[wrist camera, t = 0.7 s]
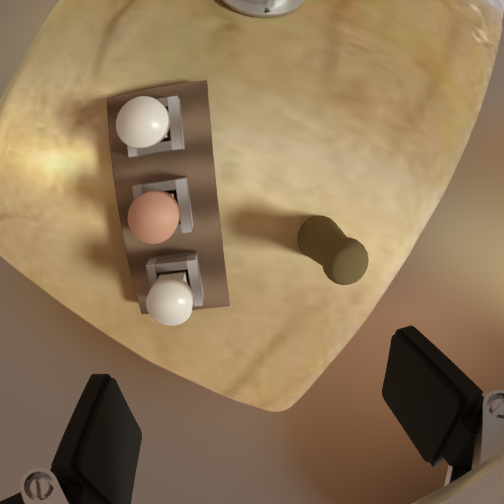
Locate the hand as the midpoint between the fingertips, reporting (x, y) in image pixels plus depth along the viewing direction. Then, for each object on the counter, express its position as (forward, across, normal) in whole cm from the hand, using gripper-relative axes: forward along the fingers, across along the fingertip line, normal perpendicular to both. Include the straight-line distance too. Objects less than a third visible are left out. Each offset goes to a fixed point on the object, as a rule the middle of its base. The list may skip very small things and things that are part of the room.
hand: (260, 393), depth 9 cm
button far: (+25, +7, +6) cm, 26 cm away
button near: (+24, +7, -12) cm, 28 cm away
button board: (+30, +7, -4) cm, 31 cm away
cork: (+31, -12, +4) cm, 33 cm away
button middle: (+25, +7, -3) cm, 26 cm away
